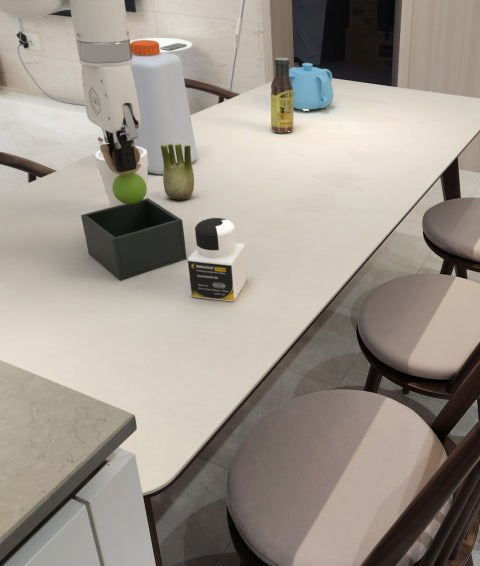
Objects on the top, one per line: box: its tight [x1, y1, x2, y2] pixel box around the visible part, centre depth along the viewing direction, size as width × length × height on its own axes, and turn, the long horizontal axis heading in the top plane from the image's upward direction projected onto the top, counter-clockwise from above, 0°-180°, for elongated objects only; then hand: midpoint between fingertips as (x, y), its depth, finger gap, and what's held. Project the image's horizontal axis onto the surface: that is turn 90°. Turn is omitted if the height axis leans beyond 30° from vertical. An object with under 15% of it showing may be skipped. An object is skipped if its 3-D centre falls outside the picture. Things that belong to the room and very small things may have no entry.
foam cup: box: [94, 146, 149, 207], centre depth 124 cm, size 10×9×13 cm
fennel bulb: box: [161, 144, 195, 201], centre depth 133 cm, size 6×5×12 cm
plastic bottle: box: [122, 39, 198, 175], centre depth 147 cm, size 15×15×28 cm
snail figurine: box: [97, 137, 147, 205], centre depth 105 cm, size 5×6×12 cm
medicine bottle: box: [187, 217, 248, 303], centre depth 102 cm, size 7×7×12 cm
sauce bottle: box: [270, 57, 294, 133], centre depth 176 cm, size 7×6×20 cm
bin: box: [80, 197, 188, 281], centre depth 111 cm, size 12×12×8 cm
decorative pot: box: [289, 62, 334, 110], centre depth 201 cm, size 16×16×14 cm
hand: (123, 167), depth 105 cm, fingers closed on snail figurine
